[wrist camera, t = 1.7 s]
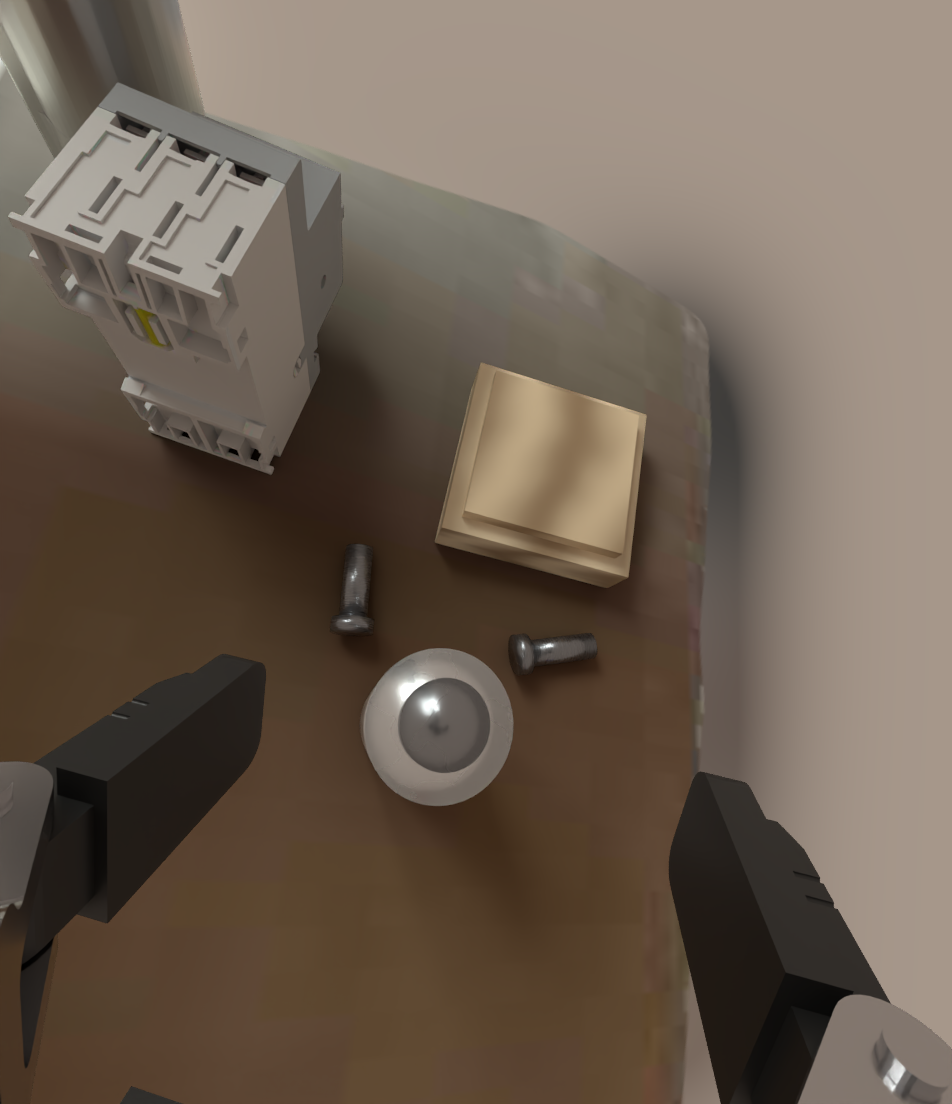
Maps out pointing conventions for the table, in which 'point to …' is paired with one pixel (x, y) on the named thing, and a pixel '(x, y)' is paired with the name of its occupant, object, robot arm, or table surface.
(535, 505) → the stand
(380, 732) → the silver metal bottle
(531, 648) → the bolt
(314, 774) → the table surface
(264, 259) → the circuit breaker
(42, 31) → the robot arm
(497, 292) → the table surface
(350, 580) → the bolt
